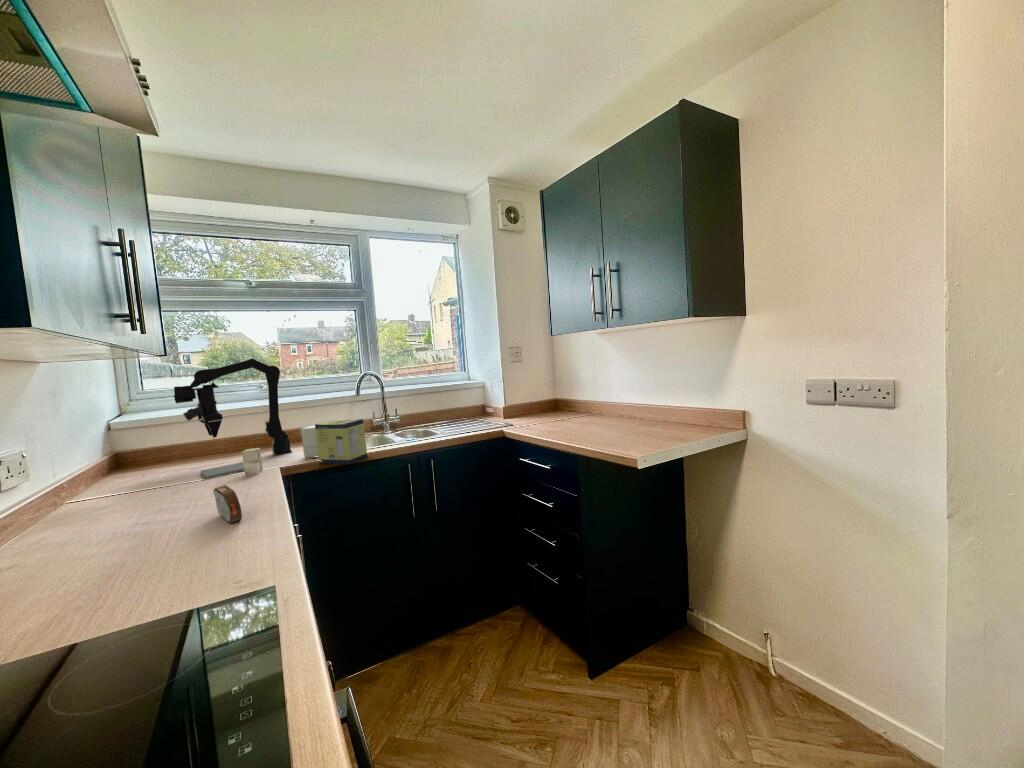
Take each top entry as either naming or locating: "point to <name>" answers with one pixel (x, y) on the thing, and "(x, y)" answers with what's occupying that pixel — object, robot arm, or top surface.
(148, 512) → the top surface
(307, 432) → the supplement box
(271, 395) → the robot arm
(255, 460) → the cream rectangular block
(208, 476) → the rubber mat
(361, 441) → the protein box
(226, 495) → the tin
